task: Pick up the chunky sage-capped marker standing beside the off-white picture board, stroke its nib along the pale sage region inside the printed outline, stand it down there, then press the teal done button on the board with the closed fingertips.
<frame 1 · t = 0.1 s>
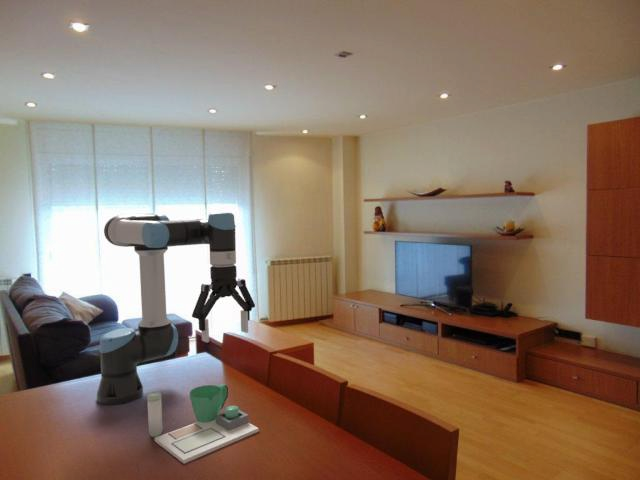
hand: (225, 336, 138), 28 cm above the table, fingers open, 13 cm apart
marker: (156, 434, 136), on the table
mug: (212, 419, 147), on the table, touching board
button: (231, 413, 140), point 4 cm above the table, slide at 0.0 cm
board: (207, 436, 135), on the table
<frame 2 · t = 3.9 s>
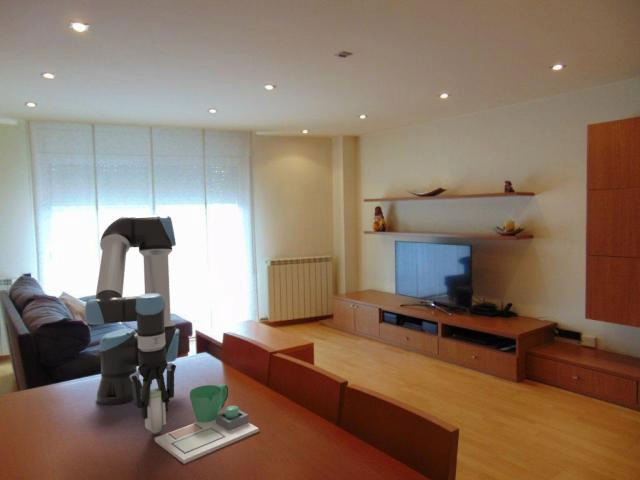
hand: (155, 425, 136), 3 cm above the table, fingers closed on marker, 4 cm apart
marker: (155, 430, 137), point 1 cm above the table, touching gripper
everything else where it was.
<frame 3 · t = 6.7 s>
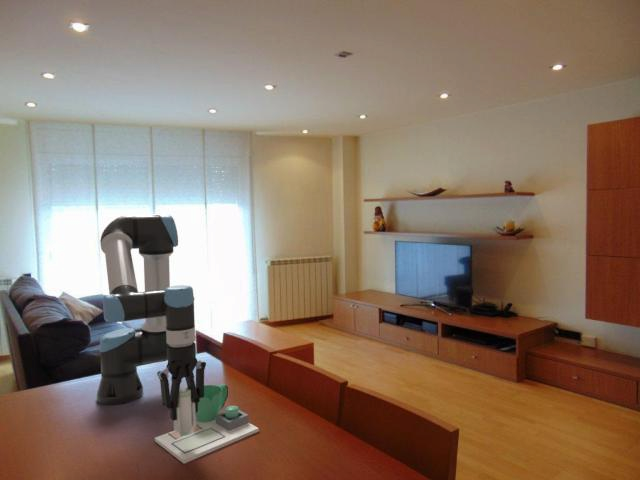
hand: (184, 427, 127), 6 cm above the table, fingers closed on marker, 4 cm apart
marker: (185, 433, 127), point 5 cm above the table, touching gripper
everything else where it was.
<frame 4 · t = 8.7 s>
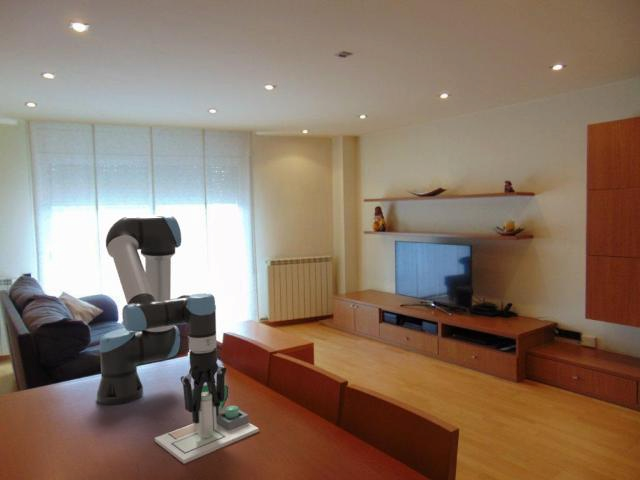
hand: (206, 430, 132), 3 cm above the table, fingers closed on marker, 4 cm apart
marker: (206, 435, 132), point 1 cm above the table, touching gripper
everything else where it was.
when the fingers open (3 cm above the table, at t = 10.0 s): marker stays where it is, resting on board.
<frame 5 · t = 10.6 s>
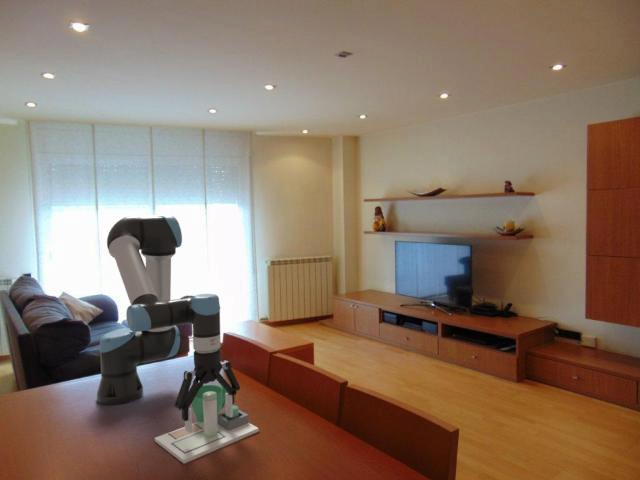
hand: (209, 423, 133), 5 cm above the table, fingers open, 12 cm apart
marker: (211, 434, 133), point 1 cm above the table, touching board
button: (231, 413, 140), point 4 cm above the table, slide at -0.1 cm, touching gripper
everything else where it was.
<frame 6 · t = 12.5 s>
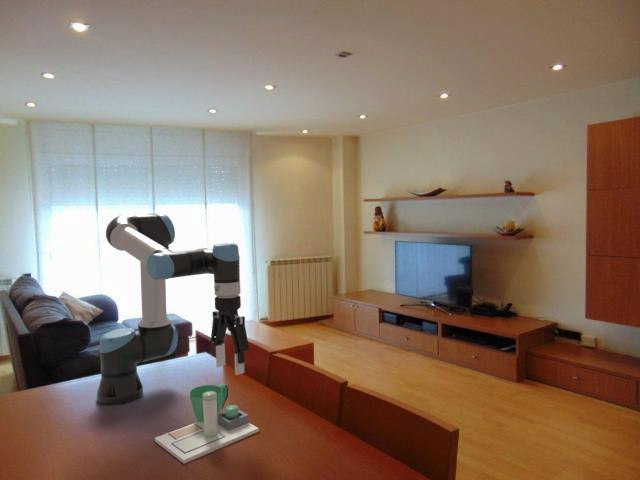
hand: (230, 369, 139), 18 cm above the table, fingers open, 9 cm apart
button: (231, 412, 140), point 4 cm above the table, slide at -0.2 cm
everything else where it was.
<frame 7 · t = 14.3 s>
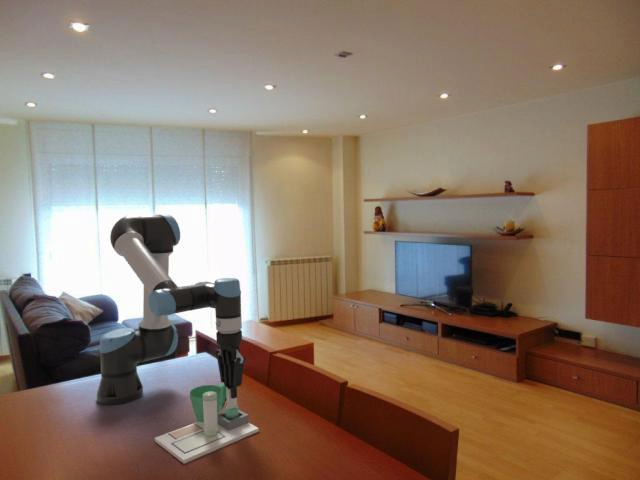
hand: (232, 407, 140), 6 cm above the table, fingers closed
button: (231, 412, 140), point 4 cm above the table, slide at -0.2 cm, touching gripper
everything else where it was.
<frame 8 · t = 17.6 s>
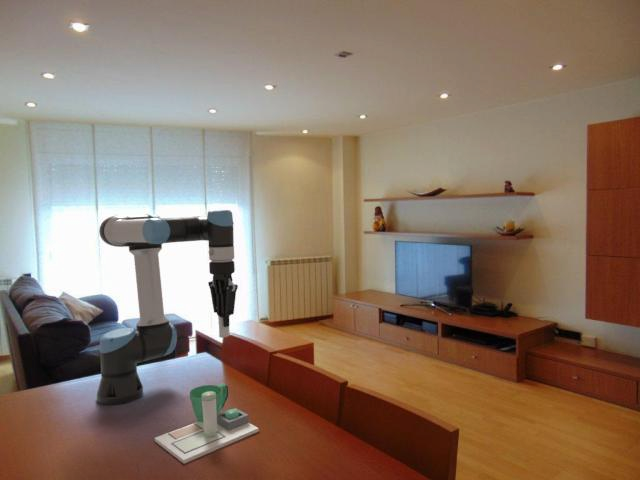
hand: (224, 336, 143), 26 cm above the table, fingers closed
button: (232, 416, 140), point 3 cm above the table, slide at 1.0 cm
everything else where it was.
at the end: marker inside the target area on the board (3.5 cm from its centre), point 1.1 cm above the board's base; button slide at 1.0 cm; the gripper is holding nothing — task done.
